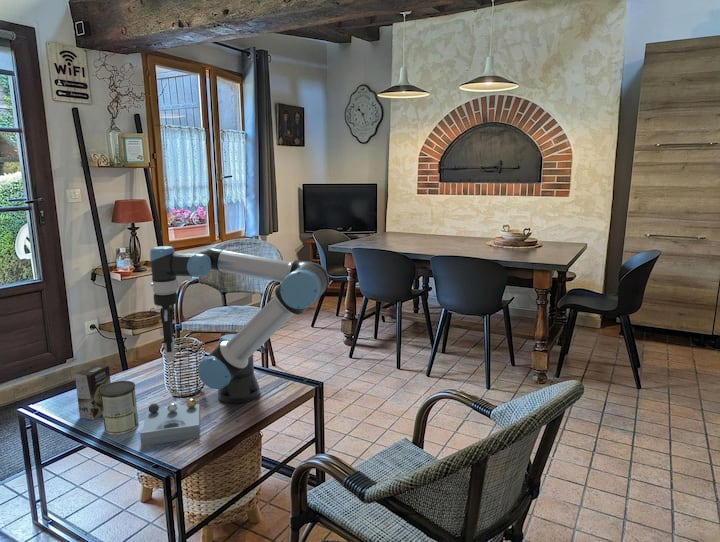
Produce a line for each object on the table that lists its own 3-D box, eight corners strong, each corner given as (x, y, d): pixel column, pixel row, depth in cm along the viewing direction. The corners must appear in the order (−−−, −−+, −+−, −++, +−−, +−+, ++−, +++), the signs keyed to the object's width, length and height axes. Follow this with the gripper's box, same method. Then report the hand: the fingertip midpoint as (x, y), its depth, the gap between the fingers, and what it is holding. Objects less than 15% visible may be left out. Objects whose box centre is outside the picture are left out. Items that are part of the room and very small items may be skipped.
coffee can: (98, 428, 165) (93, 388, 163) (129, 416, 173) (125, 377, 170) (113, 439, 159) (108, 397, 156) (144, 426, 167) (141, 386, 164)
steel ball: (178, 409, 173) (177, 400, 172) (177, 413, 170) (176, 404, 169) (168, 410, 172) (167, 402, 171) (167, 415, 169) (166, 406, 168)
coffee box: (94, 420, 171) (89, 375, 167) (79, 418, 172) (73, 373, 169) (114, 408, 179) (109, 365, 176) (99, 406, 181) (94, 363, 178)
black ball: (159, 409, 172) (158, 401, 172) (158, 414, 169) (158, 405, 169) (149, 411, 172) (148, 402, 171) (148, 415, 169) (147, 406, 168)
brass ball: (196, 405, 176) (195, 396, 175) (196, 409, 173) (195, 400, 172) (186, 406, 175) (186, 397, 174) (186, 410, 172) (185, 401, 171)
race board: (199, 410, 178) (198, 398, 177) (199, 437, 160) (198, 424, 159) (147, 417, 173) (146, 405, 172) (141, 446, 155) (140, 433, 154)
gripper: (155, 287, 178) (160, 350, 183) (150, 299, 162) (157, 368, 167) (178, 285, 180) (182, 348, 185) (175, 297, 164) (181, 365, 169)
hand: (170, 357), depth 176 cm, fingers open, 4 cm apart
